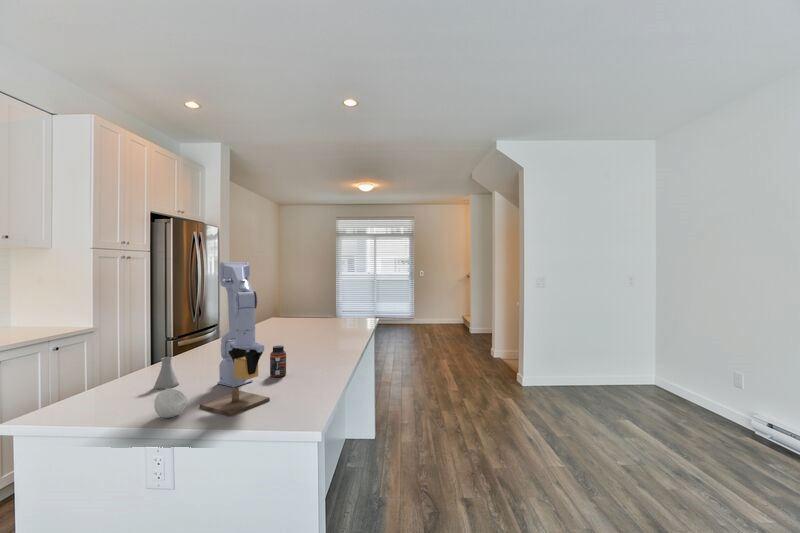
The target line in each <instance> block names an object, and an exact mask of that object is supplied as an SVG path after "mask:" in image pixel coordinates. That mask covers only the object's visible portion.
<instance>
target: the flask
mask: <svg viewBox="0 0 800 533" xmlns="http://www.w3.org/2000/svg"><path fill="white" fill-rule="evenodd" d="M160 360H161V366H160V367H161V368H160V370H159V374H158V376H157V379H156V381H155V383H154V385H153V388H154V389H157V390H165V389H167V388H174V387H176V386H179V385H180V383H179V381H178V379H177V376H176V374H175V372H174V370H173V366H172V360H173V357H169V356H166V357H162V358H160Z"/></svg>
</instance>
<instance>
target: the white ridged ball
mask: <svg viewBox="0 0 800 533" xmlns="http://www.w3.org/2000/svg"><path fill="white" fill-rule="evenodd" d="M153 401H154V402H153V404H154V405H153V408H154V410H155V412H156V414H157V415H158V416H159V417H161V418H166V419H167V418H174V417H177V416H178V415H179V414H181V413H182V412H183V411H184V410H185V409H186V406H187V404H188V398H187V396H186V395H185V394H184V393H183V392H182V391H180V390H178V389H175V388H173V387H171V388H166V389H163V390H161V391H160V392H159V393H158V394H157V395H156V396H155V398H154V400H153Z"/></svg>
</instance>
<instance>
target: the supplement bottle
mask: <svg viewBox="0 0 800 533" xmlns="http://www.w3.org/2000/svg"><path fill="white" fill-rule="evenodd" d="M284 347H285V346H284V345H281V344H280V345H273V346H272V351H271V352H270V354H269V355H270V356H269V375H270V377H272V378H281V377H284V376H286V375H287V353H286V351H285V350H284Z"/></svg>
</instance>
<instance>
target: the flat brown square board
mask: <svg viewBox="0 0 800 533" xmlns="http://www.w3.org/2000/svg"><path fill="white" fill-rule="evenodd" d="M270 400H271V399H270V397H268V396H264V395H259V394H257V393H251V392H248V391H247V392H246V391H242V390H240V388H237V387H234V388H232V389H231V393H229V394H226V395H223V396H220V397H217V398H214V399H211V400H208V401H205V402H202V403H200V404H199V408H200V409H203V410H206V411H209V412H213V413H217V414H221V415H224V416H228V417H232V416H236V415H237V414H240V413H242V412H243V413H244V412H245V411H248V410H250V409H253V408H255V407H257V406H260V405H263V404H265V403H268V402H270Z"/></svg>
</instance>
